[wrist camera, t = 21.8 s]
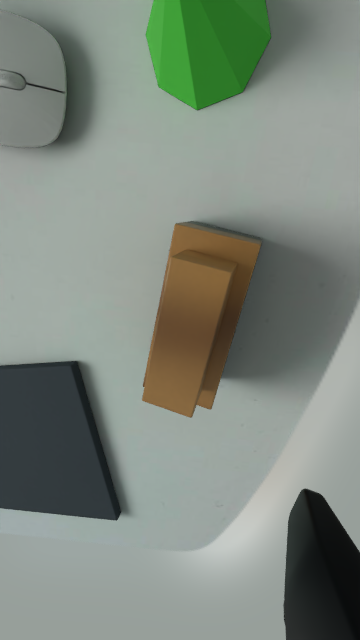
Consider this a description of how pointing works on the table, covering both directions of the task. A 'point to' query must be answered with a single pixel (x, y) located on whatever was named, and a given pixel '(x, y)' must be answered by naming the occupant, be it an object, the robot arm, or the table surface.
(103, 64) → the table surface
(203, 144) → the table surface
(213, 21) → the gemstone
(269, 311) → the table surface
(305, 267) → the table surface
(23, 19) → the computer mouse
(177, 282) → the brush
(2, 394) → the mat
